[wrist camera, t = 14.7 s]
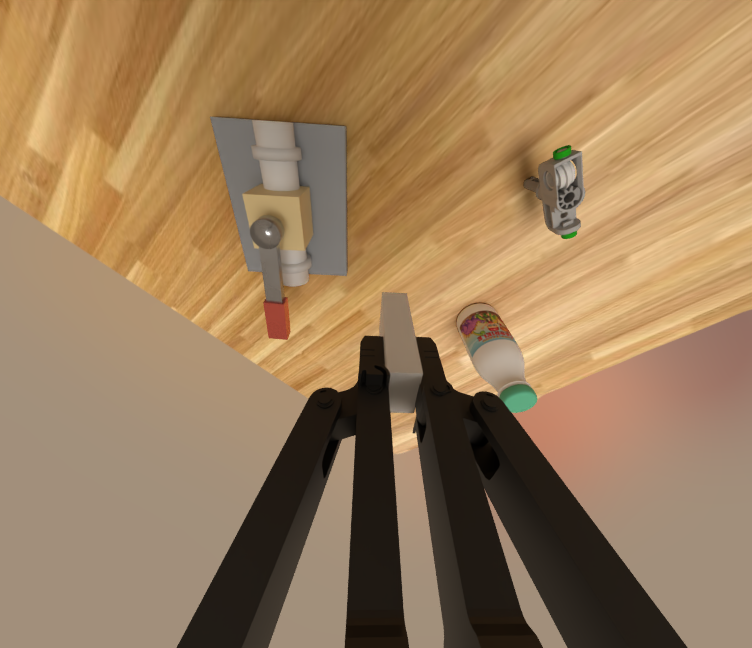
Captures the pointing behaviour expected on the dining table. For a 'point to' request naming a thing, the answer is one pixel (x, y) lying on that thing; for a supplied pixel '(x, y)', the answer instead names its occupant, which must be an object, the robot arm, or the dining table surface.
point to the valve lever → (272, 274)
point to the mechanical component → (560, 190)
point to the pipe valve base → (289, 190)
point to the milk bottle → (496, 355)
